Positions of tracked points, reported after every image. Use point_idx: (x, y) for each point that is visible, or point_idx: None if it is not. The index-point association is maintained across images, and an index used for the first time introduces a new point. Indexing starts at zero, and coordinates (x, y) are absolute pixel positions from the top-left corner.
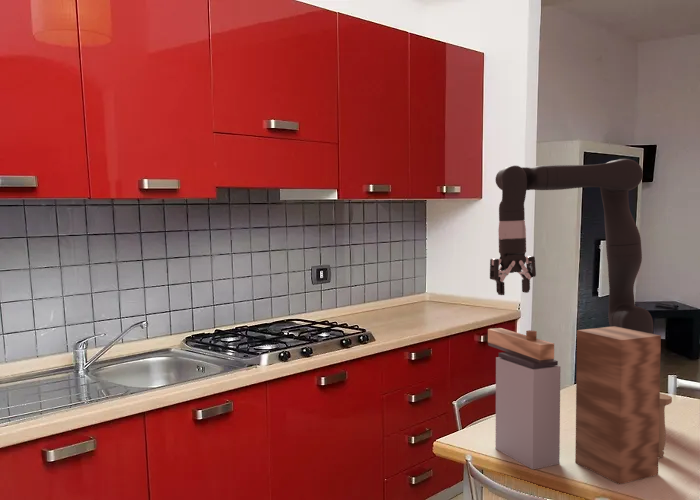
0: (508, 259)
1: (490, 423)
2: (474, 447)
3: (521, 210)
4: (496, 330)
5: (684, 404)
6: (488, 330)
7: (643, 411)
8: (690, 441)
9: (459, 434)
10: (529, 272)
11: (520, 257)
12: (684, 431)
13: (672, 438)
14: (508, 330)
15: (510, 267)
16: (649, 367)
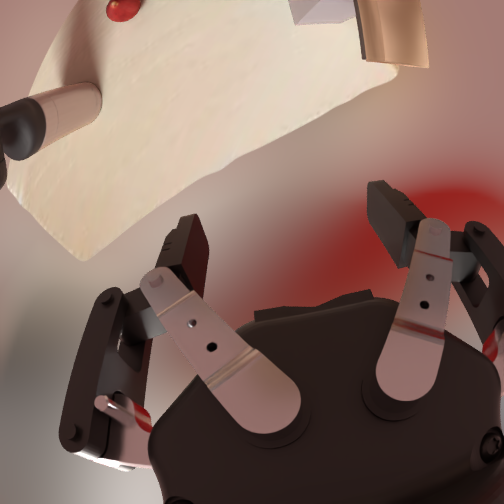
0: (452, 410)
1: (299, 111)
2: None
3: None
4: (417, 34)
5: (15, 165)
6: (426, 64)
7: None
8: (62, 30)
9: (365, 85)
10: (133, 340)
11: (244, 476)
12: (49, 64)
13: (73, 36)
14: (382, 14)
15: (421, 312)
16: None
